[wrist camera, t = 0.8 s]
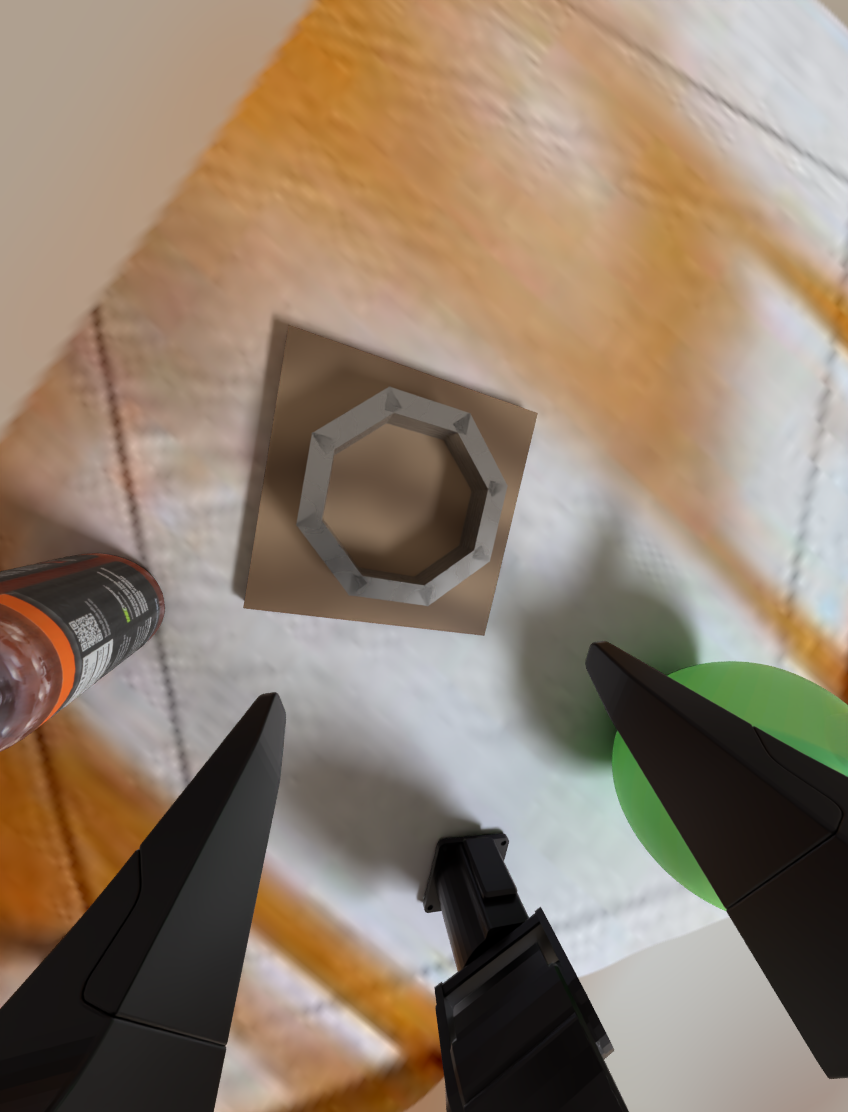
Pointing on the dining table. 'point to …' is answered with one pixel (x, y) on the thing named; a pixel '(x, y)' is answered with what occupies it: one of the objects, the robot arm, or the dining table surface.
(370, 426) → the ring
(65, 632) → the supplement bottle
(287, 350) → the stand
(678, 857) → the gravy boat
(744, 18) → the dining table surface
